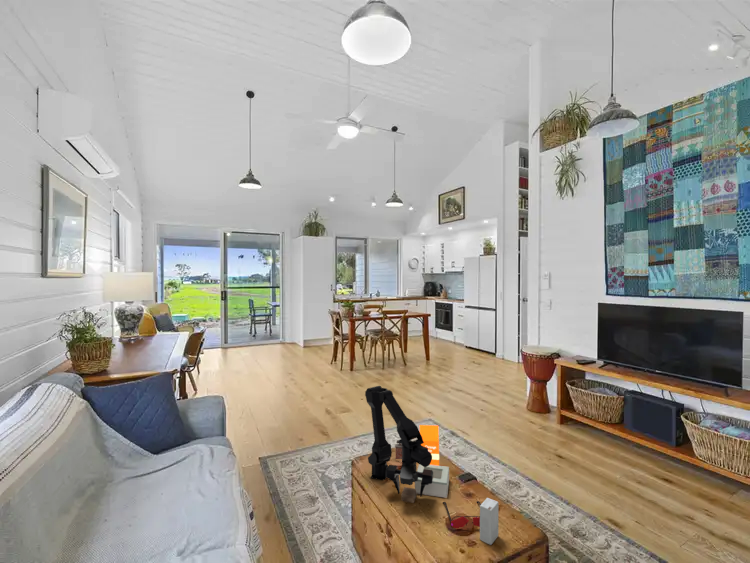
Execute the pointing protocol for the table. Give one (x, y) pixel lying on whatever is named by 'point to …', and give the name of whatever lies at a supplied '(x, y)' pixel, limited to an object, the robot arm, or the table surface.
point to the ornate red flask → (398, 450)
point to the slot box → (434, 481)
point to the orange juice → (431, 441)
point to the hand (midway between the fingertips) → (409, 494)
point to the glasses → (463, 519)
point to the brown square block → (408, 494)
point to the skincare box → (489, 521)
